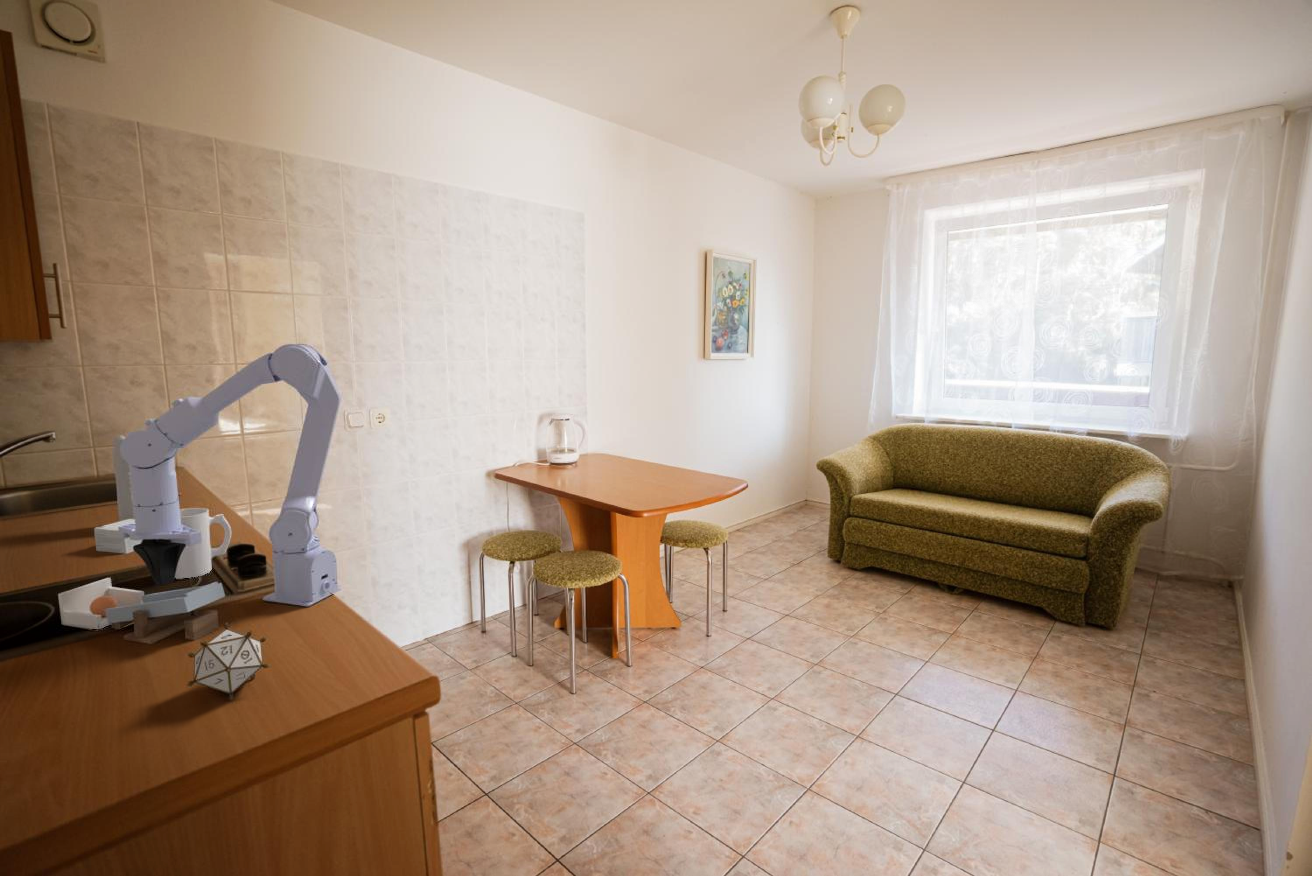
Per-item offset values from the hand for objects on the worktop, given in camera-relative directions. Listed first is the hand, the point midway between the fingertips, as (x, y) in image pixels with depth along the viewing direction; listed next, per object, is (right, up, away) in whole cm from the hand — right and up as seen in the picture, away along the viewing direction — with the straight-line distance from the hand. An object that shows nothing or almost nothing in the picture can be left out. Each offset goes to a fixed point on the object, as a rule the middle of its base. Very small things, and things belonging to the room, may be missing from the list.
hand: (165, 582), depth 100 cm
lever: (+6, -2, -4) cm, 8 cm away
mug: (-7, -2, +17) cm, 19 cm away
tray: (-7, -5, -3) cm, 9 cm away
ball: (-6, -4, -3) cm, 8 cm away
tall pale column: (-43, +2, +43) cm, 61 cm away
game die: (+26, -9, -22) cm, 35 cm away
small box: (-32, 0, +30) cm, 44 cm away
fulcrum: (+5, -6, -6) cm, 10 cm away
